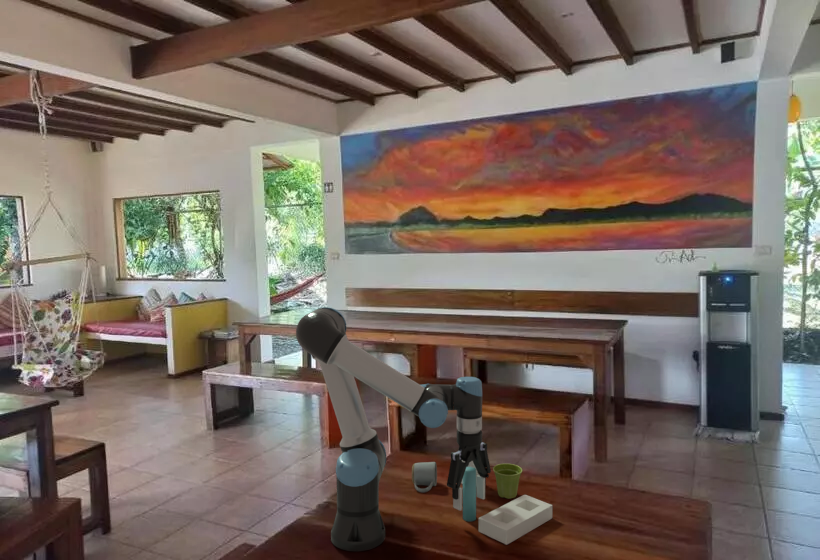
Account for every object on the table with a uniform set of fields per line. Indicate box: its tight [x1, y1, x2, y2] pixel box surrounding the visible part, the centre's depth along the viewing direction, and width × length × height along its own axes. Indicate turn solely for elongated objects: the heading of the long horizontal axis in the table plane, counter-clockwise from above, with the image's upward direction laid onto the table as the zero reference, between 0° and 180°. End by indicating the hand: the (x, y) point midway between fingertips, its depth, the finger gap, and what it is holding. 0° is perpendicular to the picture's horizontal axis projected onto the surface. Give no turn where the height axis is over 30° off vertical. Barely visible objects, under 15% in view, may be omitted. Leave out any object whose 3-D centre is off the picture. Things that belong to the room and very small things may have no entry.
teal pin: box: [462, 467, 477, 523], centre depth 172 cm, size 4×4×15 cm
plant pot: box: [492, 463, 523, 499], centre depth 188 cm, size 9×9×9 cm
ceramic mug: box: [411, 461, 438, 493], centre depth 195 cm, size 11×8×8 cm
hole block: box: [478, 494, 553, 545], centre depth 168 cm, size 10×22×4 cm, turn 133°
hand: (469, 503), depth 172 cm, fingers open, 10 cm apart
